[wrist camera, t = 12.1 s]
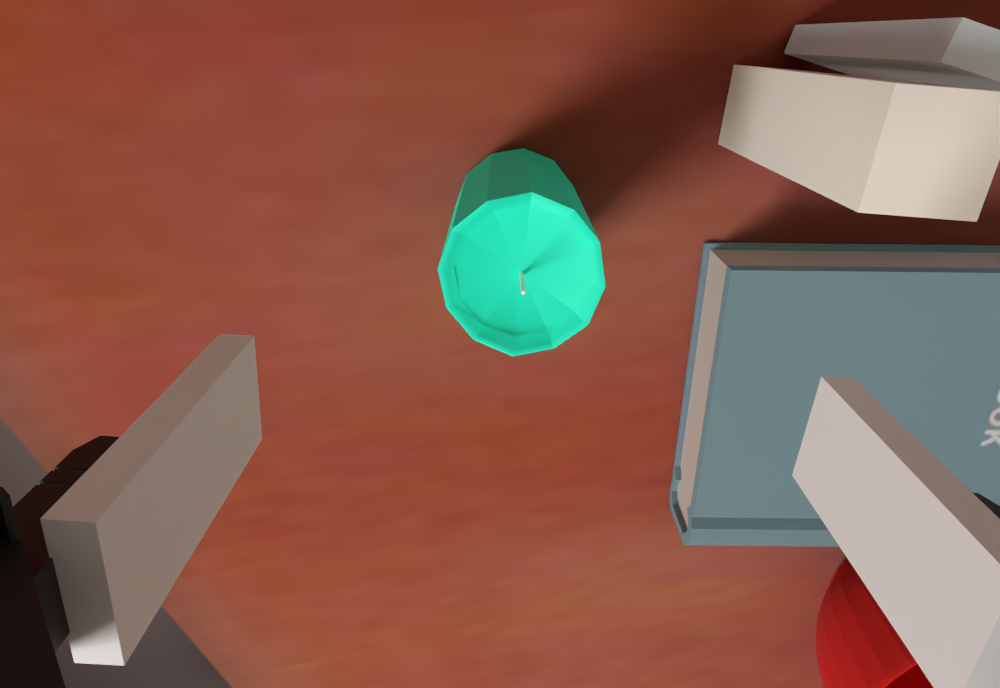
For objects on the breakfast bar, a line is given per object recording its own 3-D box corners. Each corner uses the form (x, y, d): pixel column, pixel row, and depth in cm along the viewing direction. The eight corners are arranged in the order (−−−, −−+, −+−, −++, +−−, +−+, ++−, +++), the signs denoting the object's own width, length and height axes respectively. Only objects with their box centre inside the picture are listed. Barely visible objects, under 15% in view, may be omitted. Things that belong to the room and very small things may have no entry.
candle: (567, 274, 35) (597, 380, 24) (451, 262, 35) (427, 364, 24) (585, 154, 33) (628, 213, 22) (460, 141, 33) (439, 194, 22)
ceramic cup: (732, 686, 47) (788, 841, 38) (821, 486, 40) (914, 616, 31) (910, 708, 48) (1005, 865, 39) (1026, 516, 41) (1174, 652, 32)
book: (1145, 244, 35) (1242, 275, 30) (1040, 502, 42) (1107, 560, 37) (701, 239, 35) (731, 270, 30) (667, 499, 41) (687, 556, 37)
